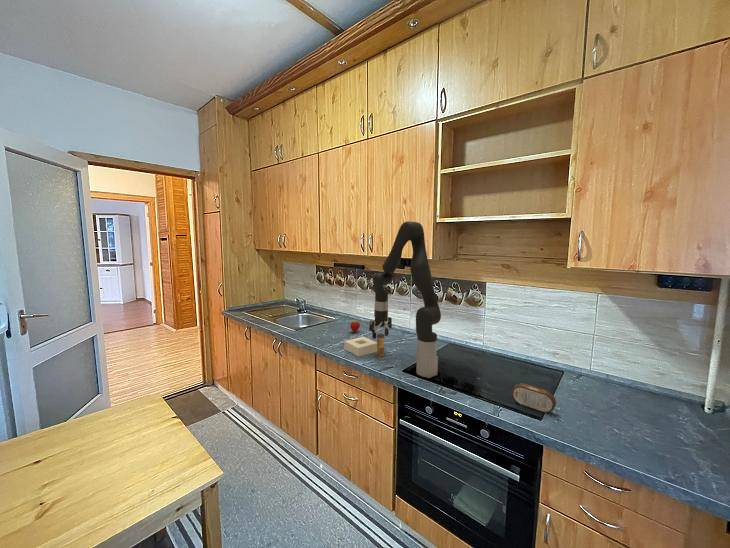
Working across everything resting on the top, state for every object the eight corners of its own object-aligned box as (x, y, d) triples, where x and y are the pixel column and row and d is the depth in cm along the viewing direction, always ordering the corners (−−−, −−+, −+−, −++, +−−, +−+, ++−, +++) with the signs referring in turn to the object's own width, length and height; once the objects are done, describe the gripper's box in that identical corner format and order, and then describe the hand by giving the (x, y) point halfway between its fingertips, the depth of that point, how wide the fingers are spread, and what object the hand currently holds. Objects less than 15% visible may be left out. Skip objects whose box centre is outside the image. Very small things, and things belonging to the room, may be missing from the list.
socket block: (377, 351, 175) (377, 343, 174) (358, 356, 167) (358, 348, 166) (363, 344, 186) (363, 336, 186) (344, 349, 178) (344, 341, 177)
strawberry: (362, 332, 209) (362, 318, 208) (353, 334, 204) (353, 320, 203) (356, 330, 214) (356, 316, 212) (348, 332, 209) (348, 318, 207)
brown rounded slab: (555, 413, 114) (557, 392, 113) (553, 417, 112) (555, 396, 111) (512, 399, 124) (514, 380, 123) (510, 402, 122) (511, 382, 121)
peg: (385, 356, 168) (385, 335, 167) (379, 357, 166) (380, 336, 164) (380, 353, 171) (381, 333, 170) (375, 355, 169) (375, 334, 167)
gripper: (375, 312, 158) (374, 341, 160) (395, 308, 167) (394, 336, 169) (366, 309, 164) (366, 337, 166) (386, 305, 173) (385, 333, 175)
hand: (380, 337), depth 167 cm, fingers open, 8 cm apart
